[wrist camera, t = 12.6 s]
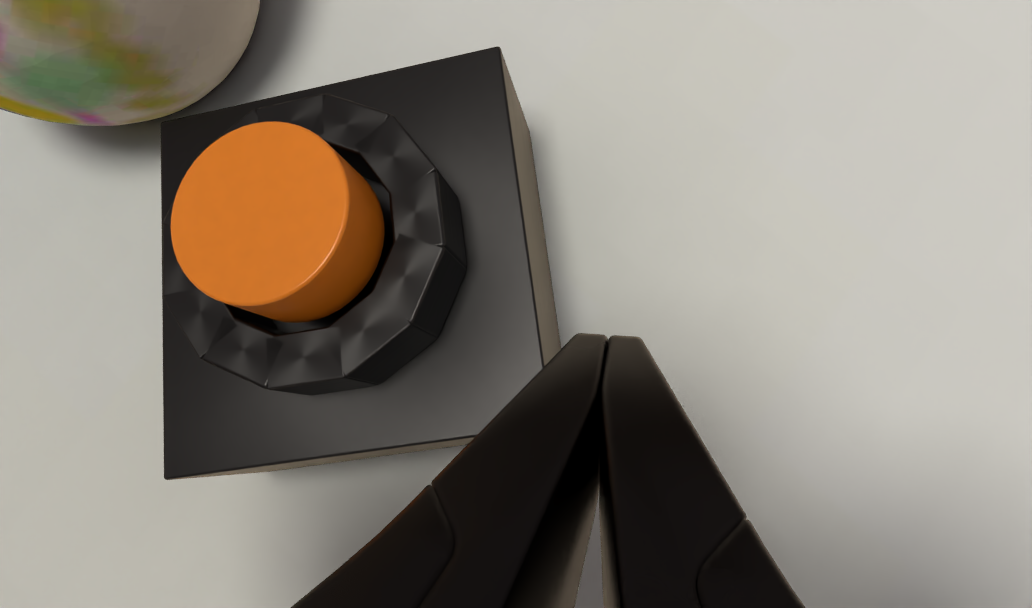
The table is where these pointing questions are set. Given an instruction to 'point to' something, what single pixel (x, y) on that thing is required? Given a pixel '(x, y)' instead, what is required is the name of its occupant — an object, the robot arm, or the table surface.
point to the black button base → (373, 284)
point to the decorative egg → (117, 56)
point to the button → (277, 224)
